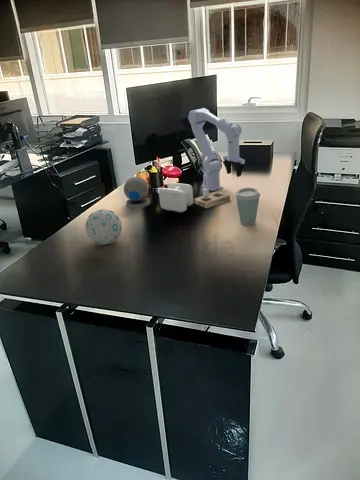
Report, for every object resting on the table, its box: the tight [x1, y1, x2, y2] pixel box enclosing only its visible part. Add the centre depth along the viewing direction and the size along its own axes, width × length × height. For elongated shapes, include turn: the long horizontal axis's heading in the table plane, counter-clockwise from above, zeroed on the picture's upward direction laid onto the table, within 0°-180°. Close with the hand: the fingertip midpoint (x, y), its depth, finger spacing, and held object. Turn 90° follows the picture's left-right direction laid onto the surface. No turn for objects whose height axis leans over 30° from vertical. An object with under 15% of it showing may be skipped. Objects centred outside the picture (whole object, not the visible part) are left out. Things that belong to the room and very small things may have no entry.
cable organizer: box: [158, 181, 194, 213], centre depth 182 cm, size 15×11×12 cm
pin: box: [202, 188, 210, 201], centre depth 185 cm, size 3×3×8 cm
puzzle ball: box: [85, 208, 123, 246], centre depth 153 cm, size 15×15×15 cm
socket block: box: [193, 190, 231, 209], centre depth 188 cm, size 10×16×2 cm, turn 125°
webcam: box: [123, 176, 151, 209], centre depth 190 cm, size 13×13×15 cm
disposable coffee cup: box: [234, 187, 261, 226], centre depth 160 cm, size 11×11×15 cm
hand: (233, 174), depth 192 cm, fingers open, 7 cm apart
